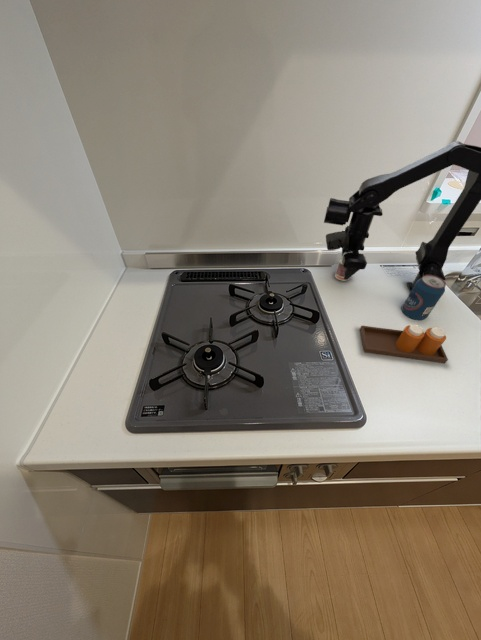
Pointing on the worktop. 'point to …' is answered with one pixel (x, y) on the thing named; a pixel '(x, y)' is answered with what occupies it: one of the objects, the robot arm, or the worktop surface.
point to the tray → (393, 345)
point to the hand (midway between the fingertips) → (344, 271)
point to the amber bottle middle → (410, 338)
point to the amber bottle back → (431, 341)
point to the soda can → (423, 297)
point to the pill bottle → (340, 269)
